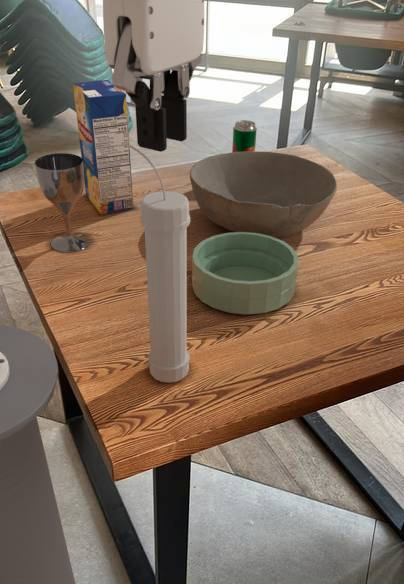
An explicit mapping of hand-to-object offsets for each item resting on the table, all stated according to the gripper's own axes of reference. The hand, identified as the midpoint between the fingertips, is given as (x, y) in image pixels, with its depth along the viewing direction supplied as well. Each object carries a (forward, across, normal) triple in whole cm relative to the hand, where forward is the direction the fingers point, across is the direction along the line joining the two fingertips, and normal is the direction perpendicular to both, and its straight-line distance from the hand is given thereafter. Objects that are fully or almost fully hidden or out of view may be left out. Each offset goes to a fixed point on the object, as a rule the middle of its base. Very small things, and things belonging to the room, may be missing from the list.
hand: (162, 141), depth 58 cm
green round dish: (+30, -24, -2) cm, 39 cm away
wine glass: (+30, -20, -36) cm, 51 cm away
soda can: (+31, -66, -24) cm, 77 cm away
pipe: (+30, 0, 0) cm, 30 cm away
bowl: (+31, -48, -11) cm, 58 cm away
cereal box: (+30, -39, -41) cm, 64 cm away
